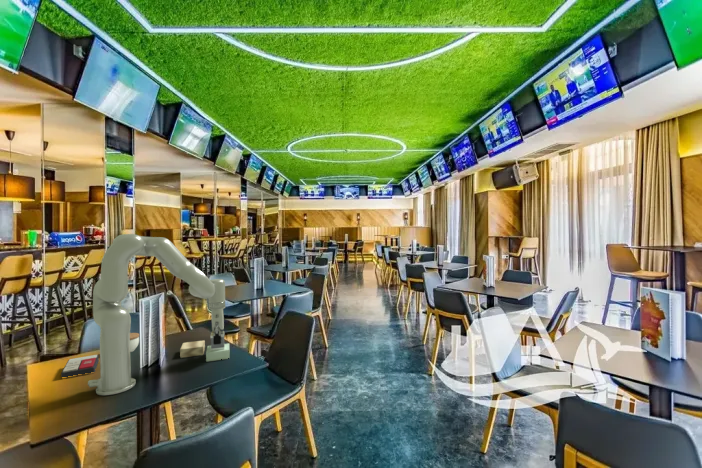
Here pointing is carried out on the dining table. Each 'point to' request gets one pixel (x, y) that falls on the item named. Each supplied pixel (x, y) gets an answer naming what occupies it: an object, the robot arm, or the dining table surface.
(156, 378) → the dining table surface
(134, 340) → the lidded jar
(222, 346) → the block
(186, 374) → the dining table surface
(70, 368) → the red and grey box
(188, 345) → the stand
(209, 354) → the stand
